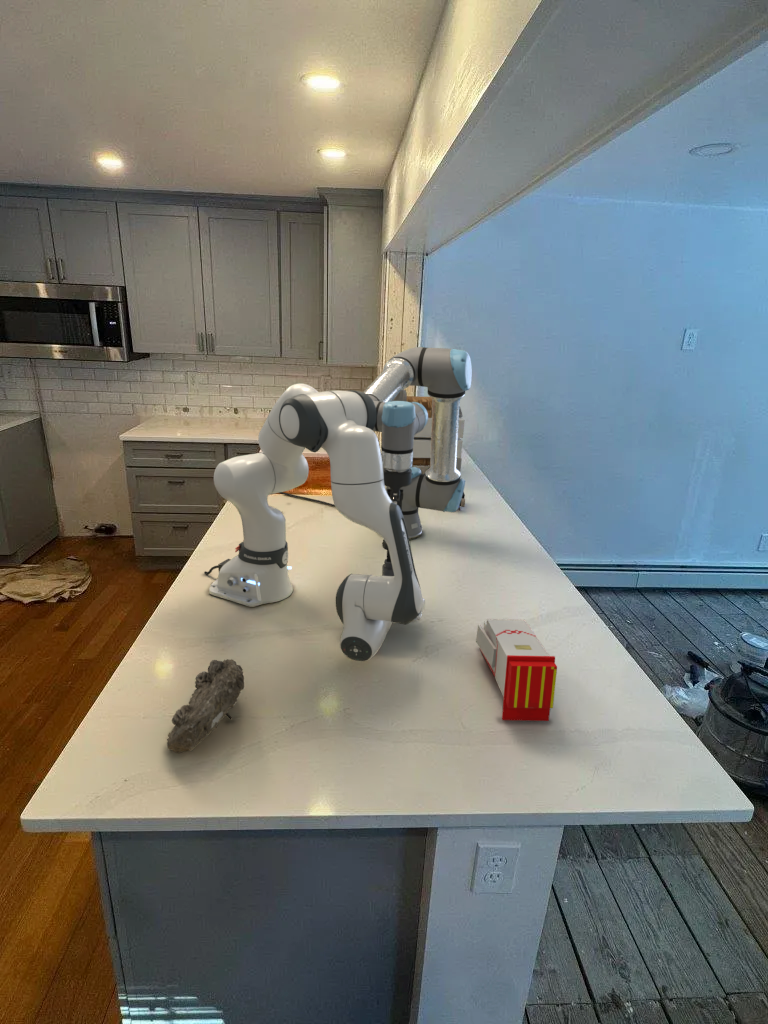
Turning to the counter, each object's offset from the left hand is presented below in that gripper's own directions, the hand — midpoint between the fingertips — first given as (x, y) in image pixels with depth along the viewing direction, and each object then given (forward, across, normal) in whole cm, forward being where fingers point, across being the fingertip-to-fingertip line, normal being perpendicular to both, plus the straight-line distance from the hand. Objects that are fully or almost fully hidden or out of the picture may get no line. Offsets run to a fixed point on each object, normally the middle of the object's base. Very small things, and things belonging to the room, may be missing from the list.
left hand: (390, 588), depth 147 cm
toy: (-20, -32, +7) cm, 38 cm away
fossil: (-50, +22, +7) cm, 55 cm away
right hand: (0, 0, -9) cm, 9 cm away
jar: (-1, 0, +7) cm, 7 cm away
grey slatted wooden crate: (+133, +20, +7) cm, 135 cm away
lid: (-1, 0, -13) cm, 13 cm away
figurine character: (+90, -4, +7) cm, 90 cm away
